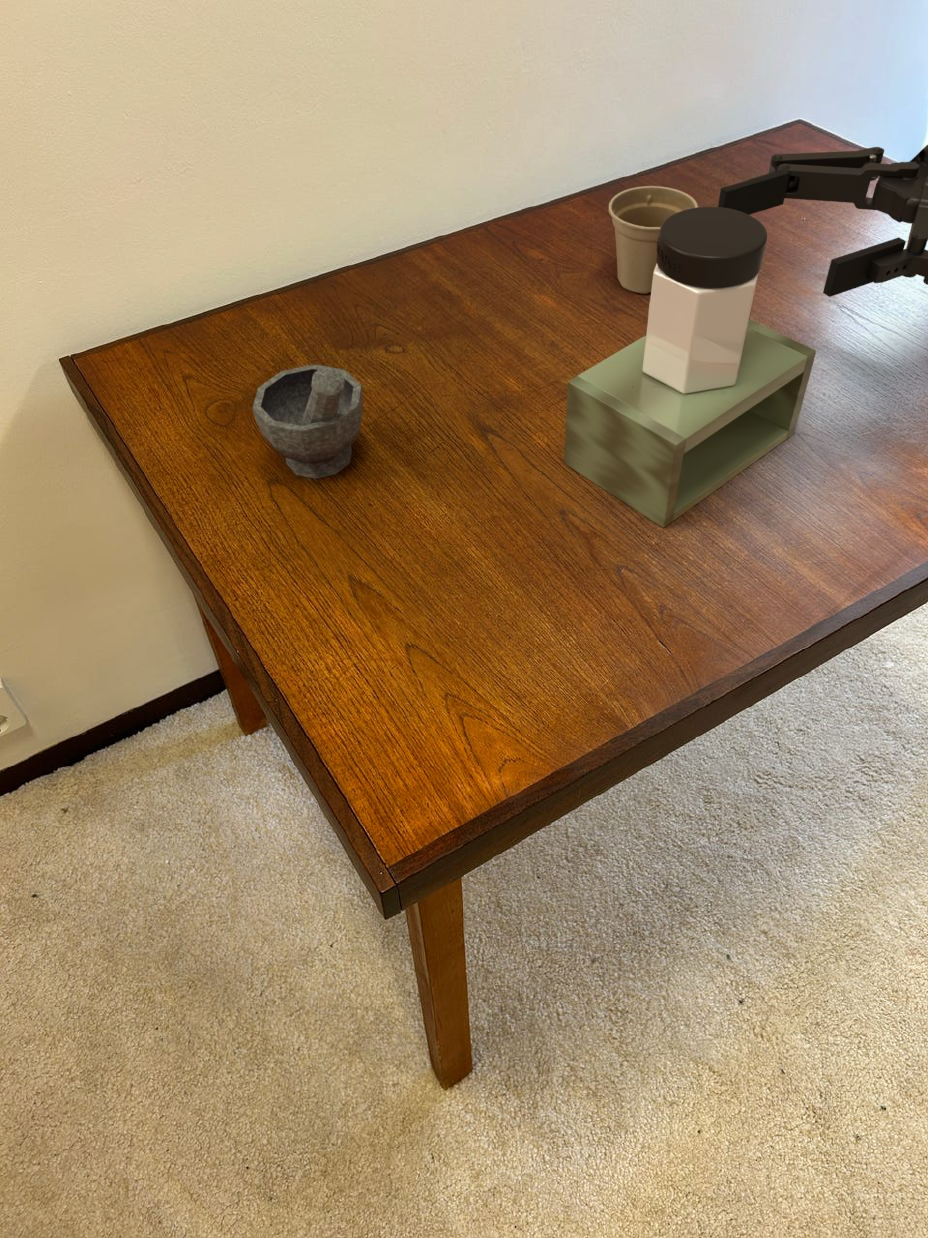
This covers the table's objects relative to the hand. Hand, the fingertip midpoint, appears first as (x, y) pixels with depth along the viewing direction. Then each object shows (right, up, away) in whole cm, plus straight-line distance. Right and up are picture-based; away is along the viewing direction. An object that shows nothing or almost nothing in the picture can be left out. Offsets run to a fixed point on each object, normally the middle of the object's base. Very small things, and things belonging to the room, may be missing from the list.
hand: (772, 240), depth 77 cm
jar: (-5, -9, +6) cm, 12 cm away
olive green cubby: (-5, -14, +13) cm, 20 cm away
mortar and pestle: (-38, -15, +14) cm, 43 cm away
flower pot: (-4, +8, +32) cm, 34 cm away
